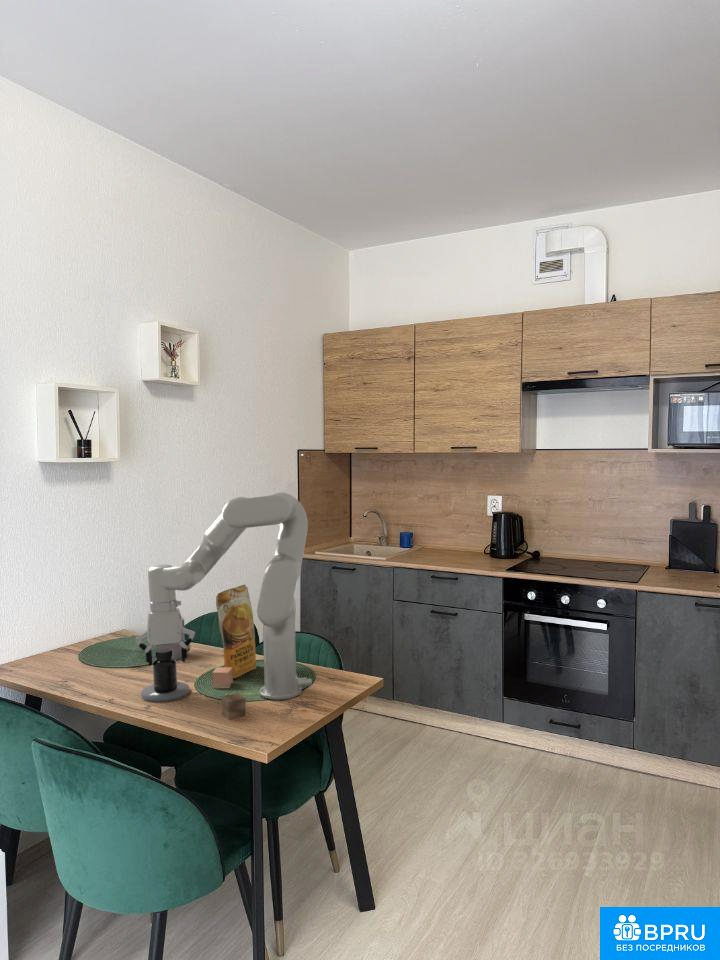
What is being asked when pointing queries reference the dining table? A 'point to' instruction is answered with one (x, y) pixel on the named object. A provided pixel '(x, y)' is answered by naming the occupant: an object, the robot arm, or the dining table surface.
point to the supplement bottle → (164, 671)
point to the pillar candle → (174, 646)
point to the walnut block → (233, 706)
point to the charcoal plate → (153, 696)
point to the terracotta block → (222, 676)
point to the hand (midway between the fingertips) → (167, 662)
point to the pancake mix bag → (237, 629)
